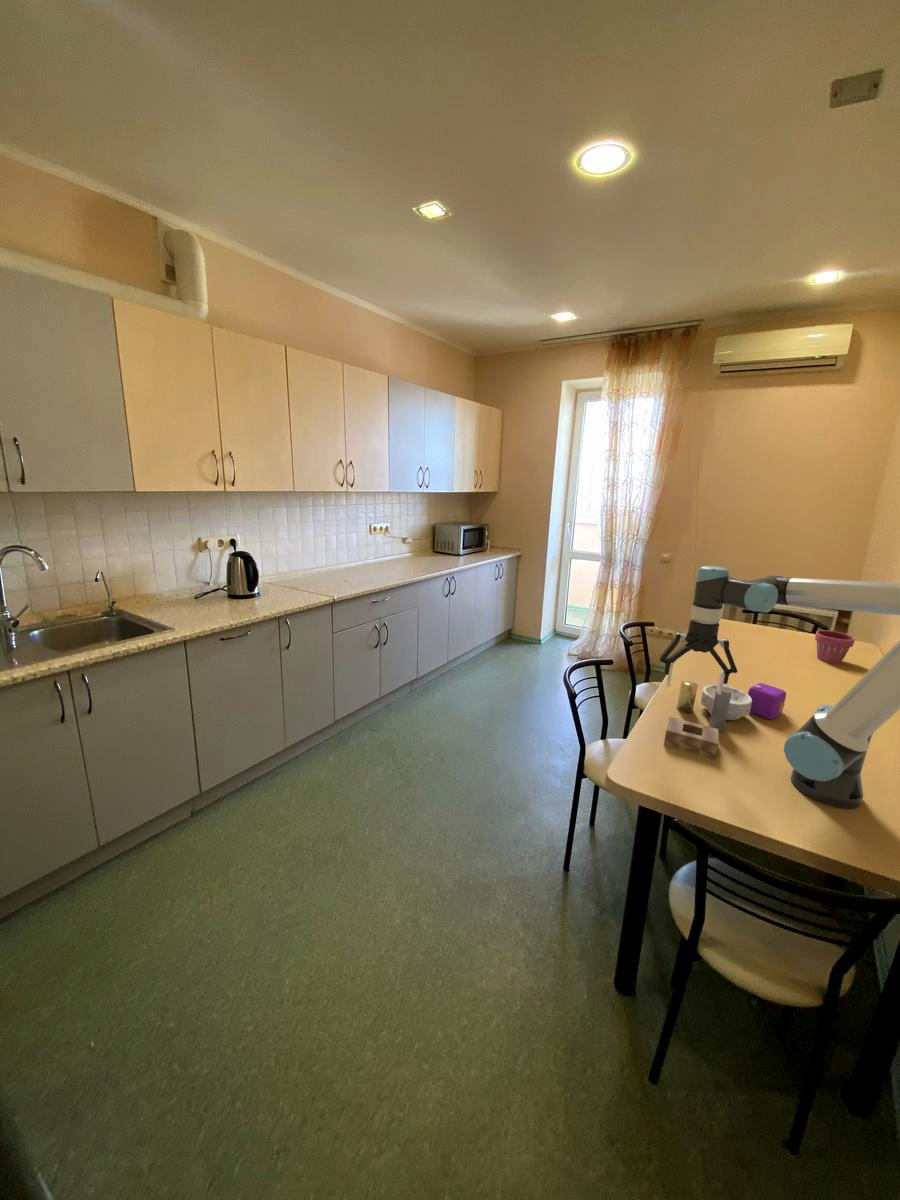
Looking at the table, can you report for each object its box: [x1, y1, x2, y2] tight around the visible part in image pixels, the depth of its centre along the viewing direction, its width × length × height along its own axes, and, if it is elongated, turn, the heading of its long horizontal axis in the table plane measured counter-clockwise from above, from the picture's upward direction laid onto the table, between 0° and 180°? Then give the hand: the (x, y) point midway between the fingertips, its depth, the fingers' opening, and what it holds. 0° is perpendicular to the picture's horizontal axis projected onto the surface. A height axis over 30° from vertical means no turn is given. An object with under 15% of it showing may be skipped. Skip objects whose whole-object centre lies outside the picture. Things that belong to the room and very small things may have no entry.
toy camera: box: [747, 682, 787, 720], centre depth 168 cm, size 11×14×10 cm
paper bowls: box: [700, 684, 752, 721], centre depth 165 cm, size 15×15×8 cm
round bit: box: [676, 680, 699, 714], centre depth 167 cm, size 5×5×10 cm
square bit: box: [708, 686, 732, 734], centre depth 154 cm, size 4×4×14 cm
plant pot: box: [814, 629, 856, 664], centre depth 222 cm, size 14×14×13 cm
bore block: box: [663, 716, 719, 760], centre depth 145 cm, size 14×10×5 cm
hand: (692, 688), depth 139 cm, fingers open, 13 cm apart
